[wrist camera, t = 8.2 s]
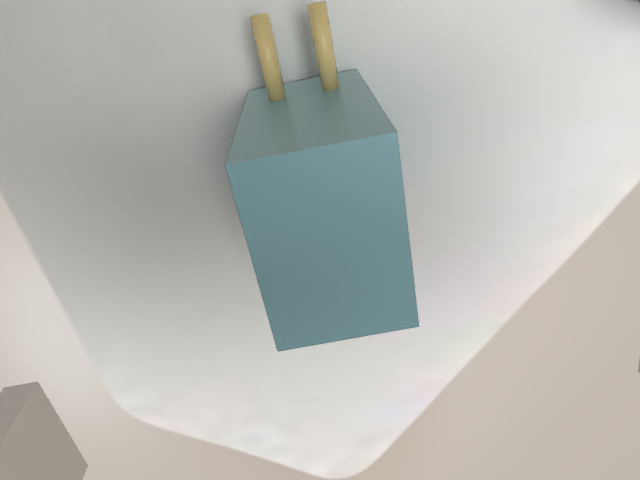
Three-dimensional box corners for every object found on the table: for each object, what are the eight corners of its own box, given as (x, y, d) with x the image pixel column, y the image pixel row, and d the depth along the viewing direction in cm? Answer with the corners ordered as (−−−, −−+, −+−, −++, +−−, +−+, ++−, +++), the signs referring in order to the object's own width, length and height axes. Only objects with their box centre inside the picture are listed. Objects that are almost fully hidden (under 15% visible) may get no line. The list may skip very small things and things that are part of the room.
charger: (230, 15, 22) (192, 49, 13) (345, -8, 22) (383, 11, 13) (281, 227, 27) (278, 355, 18) (376, 209, 27) (419, 329, 18)
